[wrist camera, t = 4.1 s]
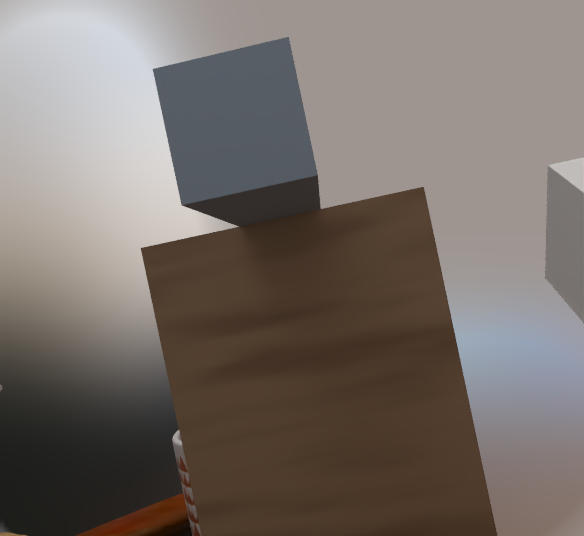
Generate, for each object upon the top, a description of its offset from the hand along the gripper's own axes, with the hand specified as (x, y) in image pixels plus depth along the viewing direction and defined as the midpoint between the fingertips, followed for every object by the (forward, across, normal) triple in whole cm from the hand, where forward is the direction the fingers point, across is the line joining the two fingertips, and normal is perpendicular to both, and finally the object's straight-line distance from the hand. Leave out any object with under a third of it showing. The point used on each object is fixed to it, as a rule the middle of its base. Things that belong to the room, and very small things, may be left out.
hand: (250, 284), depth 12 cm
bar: (+18, 0, +7) cm, 19 cm away
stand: (+8, 0, +36) cm, 37 cm away
